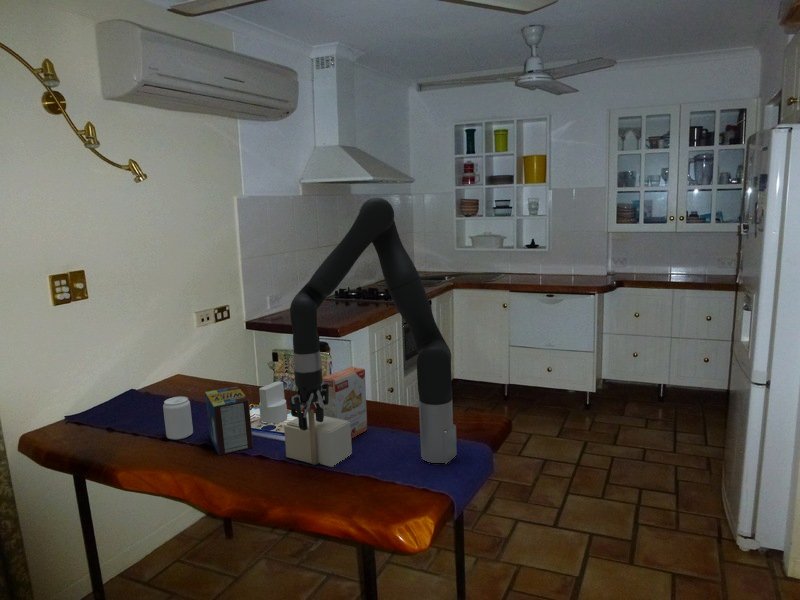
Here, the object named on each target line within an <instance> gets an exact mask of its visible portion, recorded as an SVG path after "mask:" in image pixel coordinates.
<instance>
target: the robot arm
mask: <svg viewBox="0 0 800 600" xmlns="http://www.w3.org/2000/svg"><path fill="white" fill-rule="evenodd" d="M371 243H372V245H373V247H374V250H375V251H376V253H377V257H378V261H379V264H380V268H381V271H382V275H383V279H384V281H385V284H386V287H387V290H388V292H389V296H390V297H391V300H392V302H393V305H394V306H395V308H396V310H397V311H398V313H399V314H400V316H401V317H402V319H403V320H404V321H405V323H406V325H407V326H408V328H409V330H410V332H411V335H412V337H413V341H414V342H415V346H416V350H417V358H416V376H417V377H416V379H417V393H418V407H419V409H418V411H419V432H420V433H419V435H420V458H421V457H422V458H421V460H422V459H423V460H425V461H427V462H431V463H445V464H444V465H446V464H447V463H448V462H449V463H451V462H452V461H453V460H454V459H455V458H456V457H455V456H456V455H457V456H458V453H457V452H458V451H457V424H454V421H453V420H454V419H453V418H454V417H453V416H454V414H453V412H454V411H453V409H454V408H453V386H452V385H453V384H452V353H451V349H450V348H449V346H448V344H447V342H446V340H445V339H444V336H443V334H442V333H441V330H440V329H439V327H438V324H437V322H436V319H435V318H434V314H433V310H432V308H431V304H430V301H429V299H428V295H427V292H426V289H425V287H424V284H423V281H422V279H421V277H420V275H419V272H418V270H417V267H415V264H414V262H413V260H412V258H411V256H410V255H409V254H408V252H407V250H406V249H405V247H404V245H403V243H402V241H401V238H400V235H399V232H398V229H397V225H396V222H395V210H394V207H393V205H392V204H391V203H390V202H389V201H388V200H386V199H384V198H382V197H372V198H369V199H367V200H366V201H365V202H363V204H362V205H361V207H360V209H359V213H358V215H357V216H356V218H355V220H354V222H353V224H352V226H351V227H350V229H349V230H348V232H347V233H346V234H345V235H344V237H343V239H341V241H340V242H339V243H338V244H337V245H336V247H335V248H334V249H333V250H332V251H331V252H330V254H329V255H328V256H327V257H326V258H325V259H324V261H322V263H321V264H320V265H319V267H318V268H317V269H316V270H315V272H314V273H313V274H312V276H311V278H310V279H309V280H308V281H307V282H306V283H305V285H304V286H303V287H302V288H301V289H300V290H299V291H298V293H297V294H296V295H295V296H294V298H293V299H292V301H291V303H290V307H289V315H290V323H291V329H292V347H293V349H292V351H293V373H294V374H293V375H294V384H295V386H296V387H297V393H296V394H295V395H290V396H289V398H288V399H289V400H288V401H289V405H290V411H291V416H292V417H293V418H294V417H295V418H298V421H299V428H300V429H301V430H304V431H305V430H307V429H308V428H307V417H306V415H307V413H308V410H310V409H311V405H312V404H313V405H314V407H315V409H314V414H316V421H317V422H323V419H324V410H323V409H324V407H325V405H327V404H328V402H329V384H326V383H322V382H323V378H322V377H323V368H322V366H323V365H322V364H323V363H322V355H321V349H320V347H321V346H320V337H319V333H318V309H319V308H320V307H321V305H322V304H323V303H324V301H325V300H326V299H327V297H329V296H331V295H332V293H334V292H335V290H336V289H337V288H338V287H339V286H340V284H341V283H342V282H343V280H344V279H345V277H346V276H347V275H348V273H349V272H350V271H351V269H352V268H353V266H354V265H355V263H356V262H357V261H358V259H359V258H360V257H361V255H362V254H363V253H364V251H366V249H367V248H368V247H369V246H370V244H371ZM323 396H324V397H325V400H323ZM454 457H455V458H454ZM453 458H454V459H453ZM452 459H453V460H452ZM423 460H422V461H423ZM451 460H452V461H451ZM450 461H451V462H450ZM449 463H448V464H449ZM448 464H447V465H448Z"/></svg>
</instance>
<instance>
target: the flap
mask: <svg viewBox="0 0 800 600" xmlns="http://www.w3.org/2000/svg"><path fill="white" fill-rule="evenodd" d="M307 413H308V418H309V430H305V431H304V430H301V429H300V428H296V427H292V426H288V425H287V424H286V425H284V426H283V430H284V442H285V443H284V444H285V457H286V458H289V459H294V460H296V461H301V462H305V463H308V464H311V465H312V466H315V465H316V466H317V465H319V463H318V462H317V448H316V434H315V419H314V414H315V409H311V408H310V409H309V410H308V411H307Z"/></svg>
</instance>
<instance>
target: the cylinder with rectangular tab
mask: <svg viewBox="0 0 800 600" xmlns="http://www.w3.org/2000/svg"><path fill="white" fill-rule="evenodd" d="M258 389H259V390H258V391H259V401H260V402H259V403H258V404H259V405H258V406H259V415H260V416H259V418H260V422H261V421H263V422H266V423H277V424H280V422H281V423H284V422H285V421H287V420H288V418H287V417H288V405H287V400H286V399H285V398H286V397H285V390H284V389H285V388H284V382H283V381H278V380H277V381H275V382H271V383H269V384H267V385H264V386H262V387H260V388H258Z"/></svg>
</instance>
